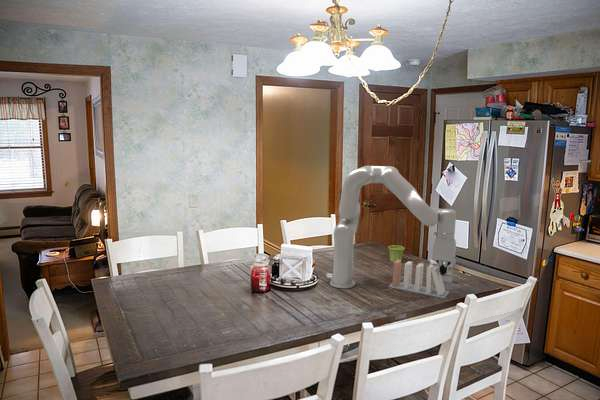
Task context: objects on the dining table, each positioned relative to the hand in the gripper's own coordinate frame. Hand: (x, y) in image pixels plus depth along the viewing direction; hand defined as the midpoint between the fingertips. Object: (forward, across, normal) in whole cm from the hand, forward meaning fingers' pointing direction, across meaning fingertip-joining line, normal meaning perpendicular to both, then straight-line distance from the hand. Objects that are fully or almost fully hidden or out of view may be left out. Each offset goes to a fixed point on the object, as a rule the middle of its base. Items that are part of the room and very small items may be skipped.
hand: (442, 274), depth 209 cm
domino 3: (+9, -11, 0) cm, 14 cm away
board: (+10, -11, 0) cm, 15 cm away
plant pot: (+11, -36, +42) cm, 57 cm away
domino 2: (+10, -16, 0) cm, 19 cm away
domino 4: (+9, -5, 0) cm, 11 cm away
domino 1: (+10, -22, 0) cm, 24 cm away
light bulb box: (+11, -5, +20) cm, 23 cm away
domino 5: (+9, 0, 0) cm, 9 cm away
